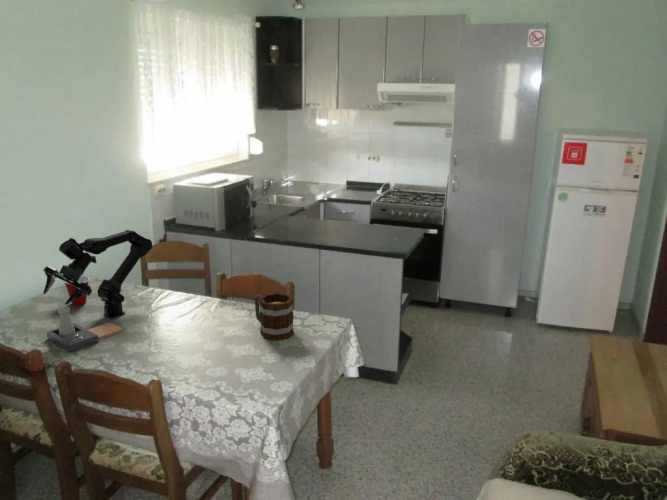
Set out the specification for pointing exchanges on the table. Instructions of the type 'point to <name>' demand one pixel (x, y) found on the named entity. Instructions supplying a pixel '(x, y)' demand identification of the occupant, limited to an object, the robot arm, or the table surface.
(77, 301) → the plastic cup
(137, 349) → the table surface
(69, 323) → the salt shaker
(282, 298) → the mug
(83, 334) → the grey rectangular device
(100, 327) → the terracotta coaster
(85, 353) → the table surface
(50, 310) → the table surface
